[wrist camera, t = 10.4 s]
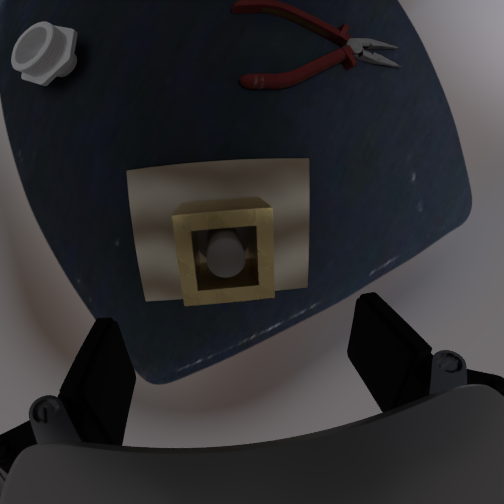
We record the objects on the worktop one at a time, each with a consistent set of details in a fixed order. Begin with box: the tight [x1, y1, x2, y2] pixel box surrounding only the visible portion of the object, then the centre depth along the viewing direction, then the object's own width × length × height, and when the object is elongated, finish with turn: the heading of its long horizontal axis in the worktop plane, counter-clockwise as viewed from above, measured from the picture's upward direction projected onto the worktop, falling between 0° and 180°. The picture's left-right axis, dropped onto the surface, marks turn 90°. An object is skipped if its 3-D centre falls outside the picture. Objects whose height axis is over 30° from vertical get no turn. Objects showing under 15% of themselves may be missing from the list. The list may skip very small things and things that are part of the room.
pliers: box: [231, 0, 402, 89], centre depth 23 cm, size 12×20×3 cm, turn 96°
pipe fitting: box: [11, 22, 77, 86], centre depth 16 cm, size 6×7×8 cm
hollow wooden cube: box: [172, 197, 275, 306], centre depth 23 cm, size 7×7×6 cm
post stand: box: [127, 158, 309, 301], centre depth 24 cm, size 14×18×9 cm
